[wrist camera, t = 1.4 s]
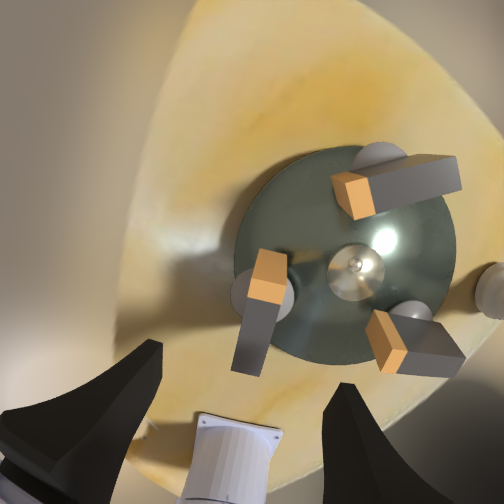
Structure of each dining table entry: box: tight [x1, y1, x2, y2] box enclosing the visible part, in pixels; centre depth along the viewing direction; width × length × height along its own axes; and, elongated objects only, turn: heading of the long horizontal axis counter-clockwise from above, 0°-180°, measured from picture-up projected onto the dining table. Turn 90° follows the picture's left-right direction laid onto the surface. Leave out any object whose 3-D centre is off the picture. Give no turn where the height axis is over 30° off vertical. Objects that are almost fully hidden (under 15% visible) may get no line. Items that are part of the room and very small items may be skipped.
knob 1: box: [230, 248, 294, 377], centre depth 17 cm, size 6×4×5 cm
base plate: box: [234, 146, 456, 365], centre depth 18 cm, size 15×15×2 cm
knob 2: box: [330, 142, 462, 220], centre depth 14 cm, size 6×4×5 cm
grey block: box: [365, 300, 466, 378], centre depth 17 cm, size 6×4×5 cm
